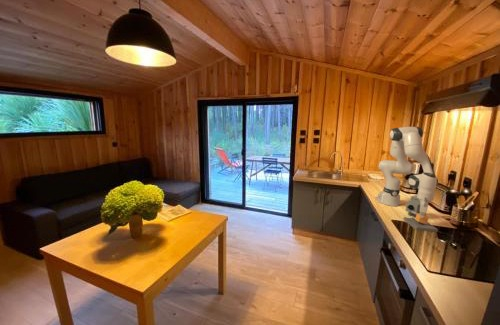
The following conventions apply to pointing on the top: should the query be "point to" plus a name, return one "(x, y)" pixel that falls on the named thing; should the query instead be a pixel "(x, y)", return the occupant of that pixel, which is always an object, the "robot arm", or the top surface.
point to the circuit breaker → (413, 206)
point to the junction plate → (420, 225)
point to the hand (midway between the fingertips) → (421, 215)
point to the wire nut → (422, 220)
